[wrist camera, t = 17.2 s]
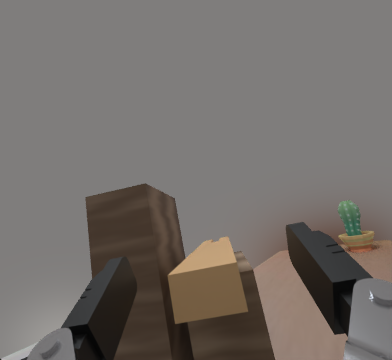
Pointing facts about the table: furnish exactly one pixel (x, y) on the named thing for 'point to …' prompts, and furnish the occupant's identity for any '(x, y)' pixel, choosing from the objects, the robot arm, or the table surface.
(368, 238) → the potted cactus
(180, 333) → the step stand
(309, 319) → the table surface
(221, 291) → the slotted slat
